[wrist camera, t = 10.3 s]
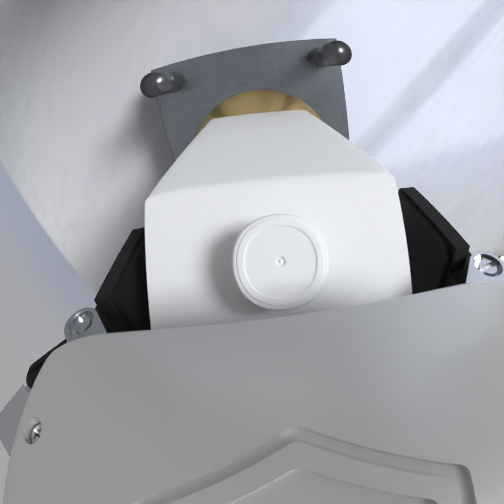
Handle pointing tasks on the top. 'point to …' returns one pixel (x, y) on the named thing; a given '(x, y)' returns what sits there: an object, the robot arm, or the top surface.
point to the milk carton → (271, 225)
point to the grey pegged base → (251, 86)
